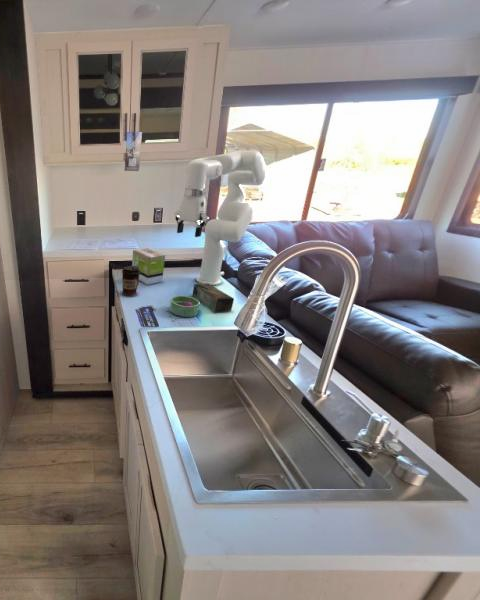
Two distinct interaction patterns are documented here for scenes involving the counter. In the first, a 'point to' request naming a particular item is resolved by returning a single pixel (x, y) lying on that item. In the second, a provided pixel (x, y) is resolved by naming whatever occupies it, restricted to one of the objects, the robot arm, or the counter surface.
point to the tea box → (149, 265)
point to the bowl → (184, 310)
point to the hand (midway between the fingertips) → (188, 234)
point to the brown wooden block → (212, 297)
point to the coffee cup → (130, 280)
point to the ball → (187, 304)
